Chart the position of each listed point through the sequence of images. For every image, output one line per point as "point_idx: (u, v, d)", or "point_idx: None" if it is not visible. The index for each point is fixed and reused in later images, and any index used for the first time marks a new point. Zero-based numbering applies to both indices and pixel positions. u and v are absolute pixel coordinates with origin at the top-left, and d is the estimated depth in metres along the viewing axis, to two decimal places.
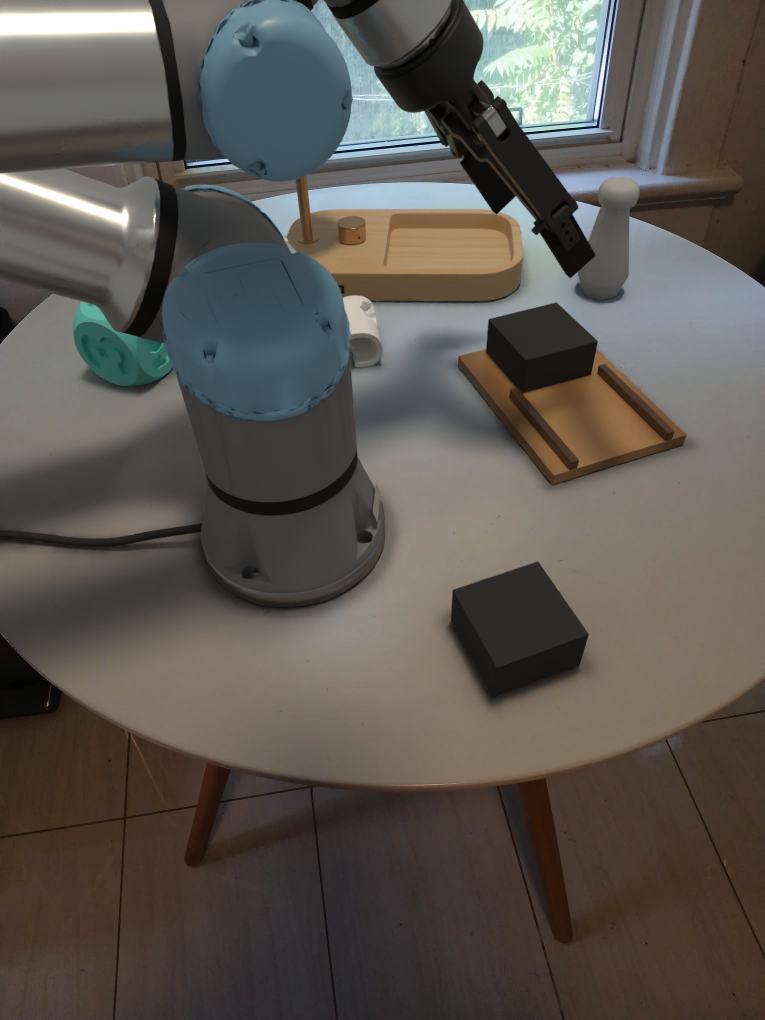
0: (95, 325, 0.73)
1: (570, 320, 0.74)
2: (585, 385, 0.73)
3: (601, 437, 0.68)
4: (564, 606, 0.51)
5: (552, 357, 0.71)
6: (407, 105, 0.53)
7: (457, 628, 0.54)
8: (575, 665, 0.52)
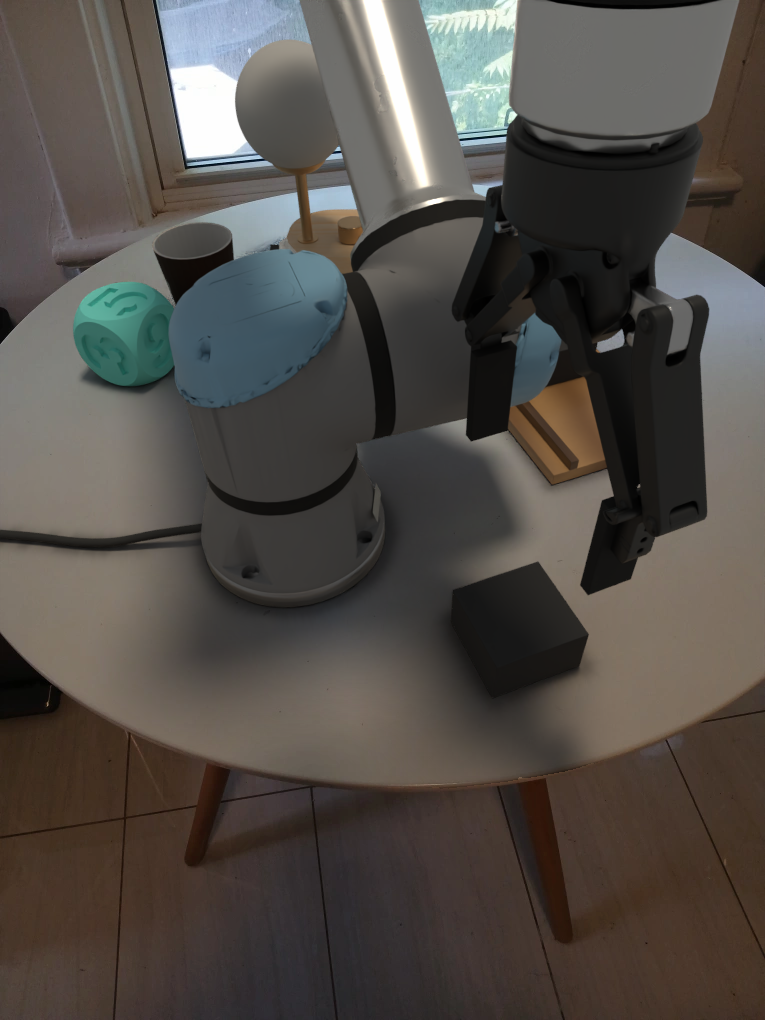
0: (95, 325, 0.73)
1: None
2: (585, 385, 0.73)
3: None
4: (564, 606, 0.51)
5: None
6: (540, 222, 0.29)
7: (457, 628, 0.54)
8: (575, 665, 0.52)
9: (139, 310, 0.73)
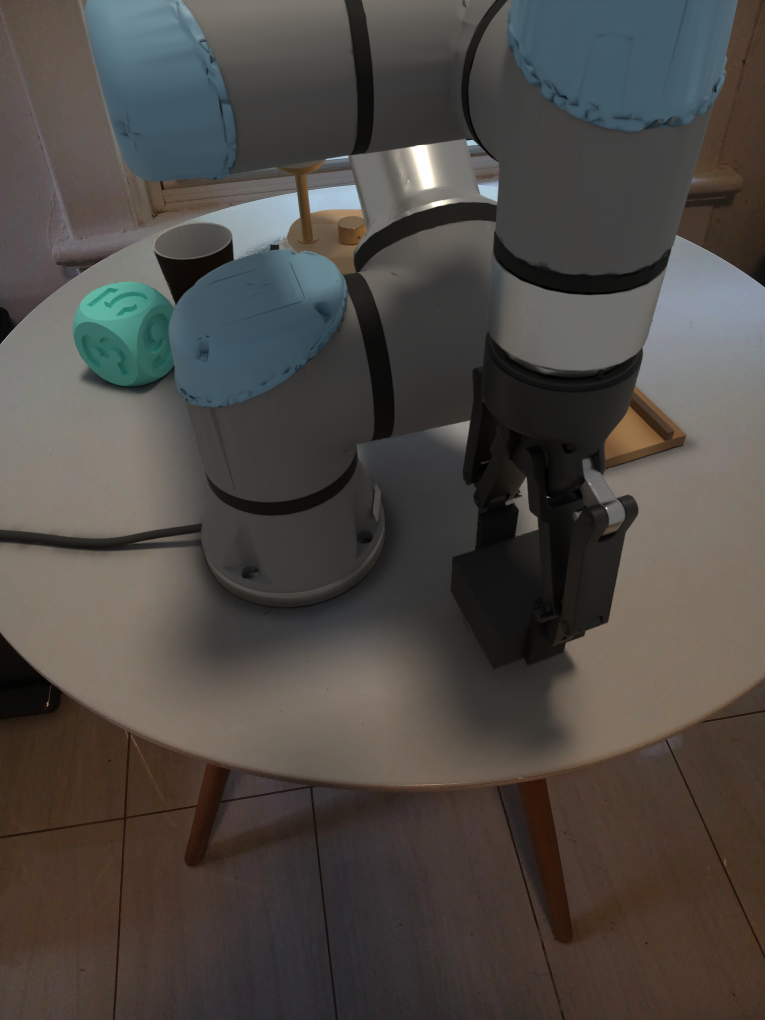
0: (95, 325, 0.73)
1: None
2: None
3: None
4: None
5: None
6: (510, 417, 0.35)
7: (457, 598, 0.52)
8: (579, 635, 0.50)
9: (139, 310, 0.73)
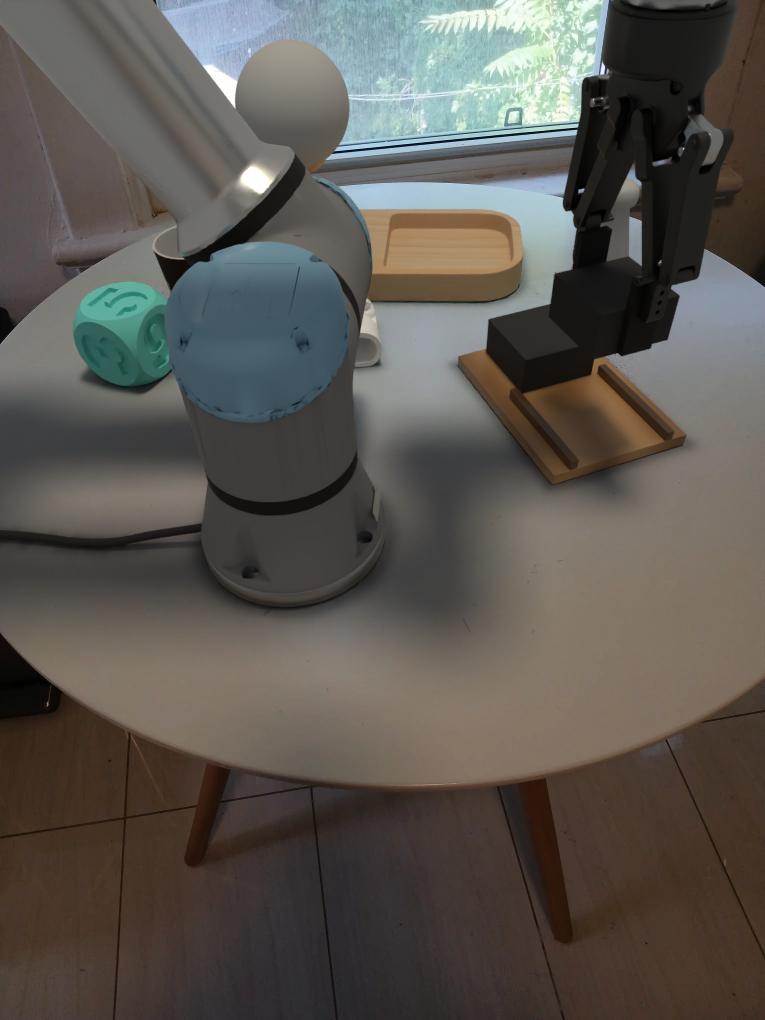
0: (95, 325, 0.73)
1: None
2: (585, 385, 0.73)
3: (601, 437, 0.68)
4: None
5: (552, 357, 0.71)
6: (630, 62, 0.44)
7: (556, 316, 0.61)
8: (664, 338, 0.59)
9: (139, 310, 0.73)
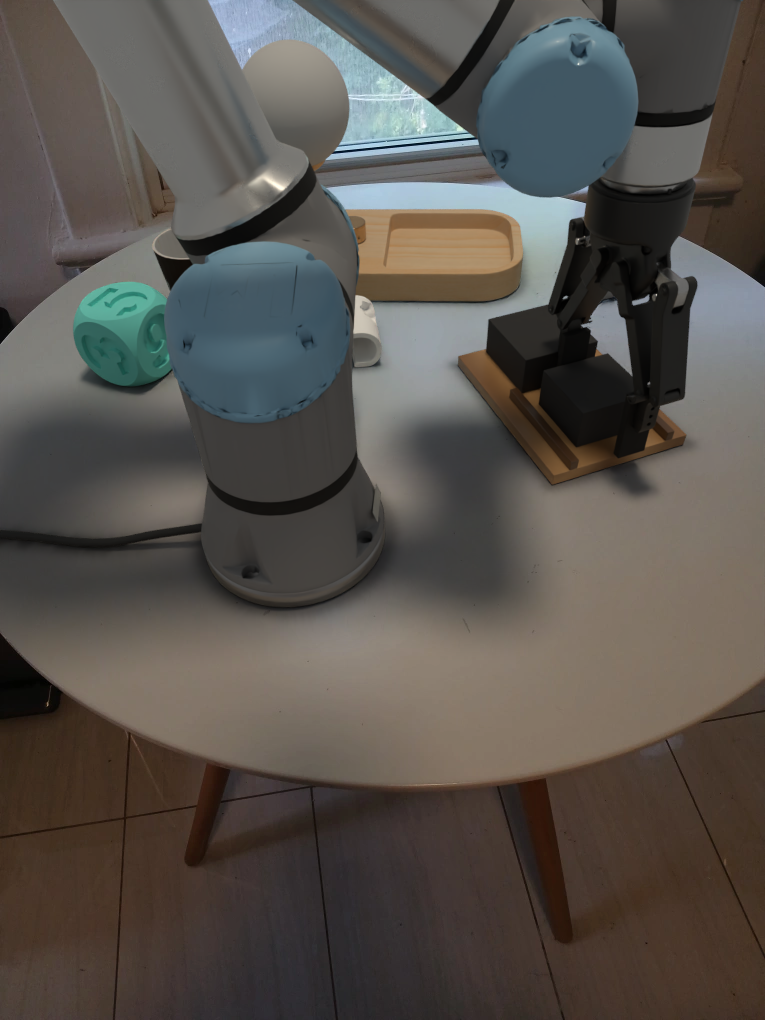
0: (95, 325, 0.73)
1: None
2: None
3: None
4: (630, 378, 0.67)
5: (552, 357, 0.71)
6: (608, 230, 0.53)
7: (545, 405, 0.70)
8: None
9: (139, 310, 0.73)
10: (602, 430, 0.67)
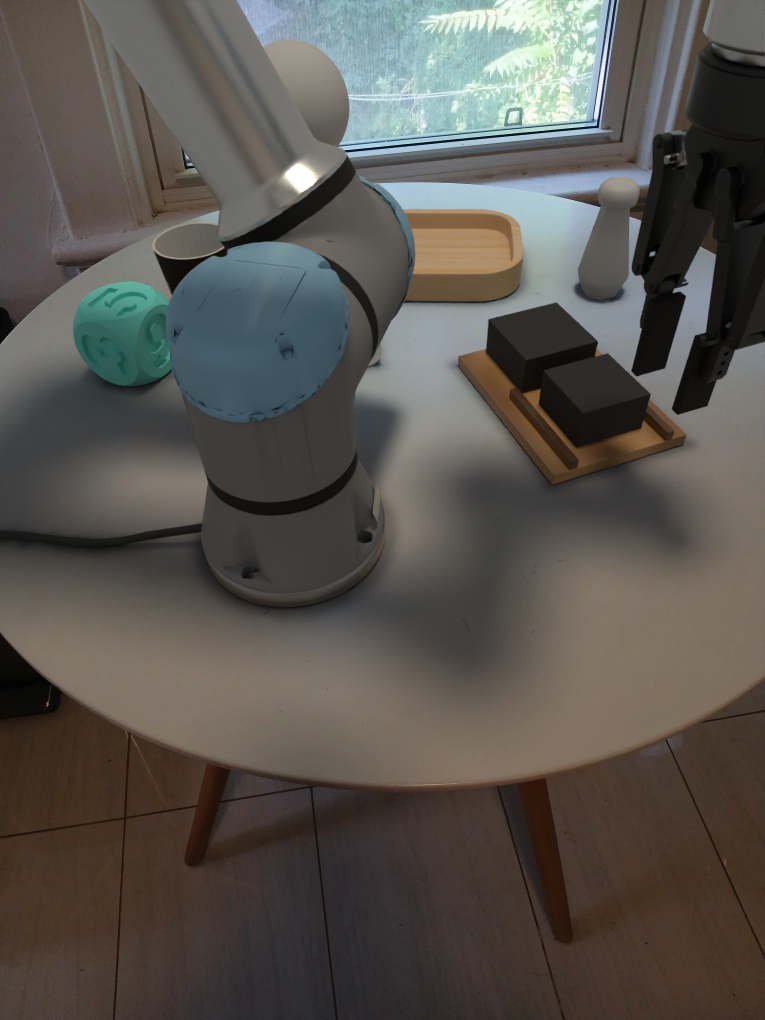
0: (95, 325, 0.73)
1: (570, 320, 0.74)
2: None
3: None
4: (630, 378, 0.67)
5: (552, 357, 0.71)
6: (723, 120, 0.41)
7: (545, 405, 0.70)
8: (638, 426, 0.68)
9: (139, 310, 0.73)
10: (602, 430, 0.67)
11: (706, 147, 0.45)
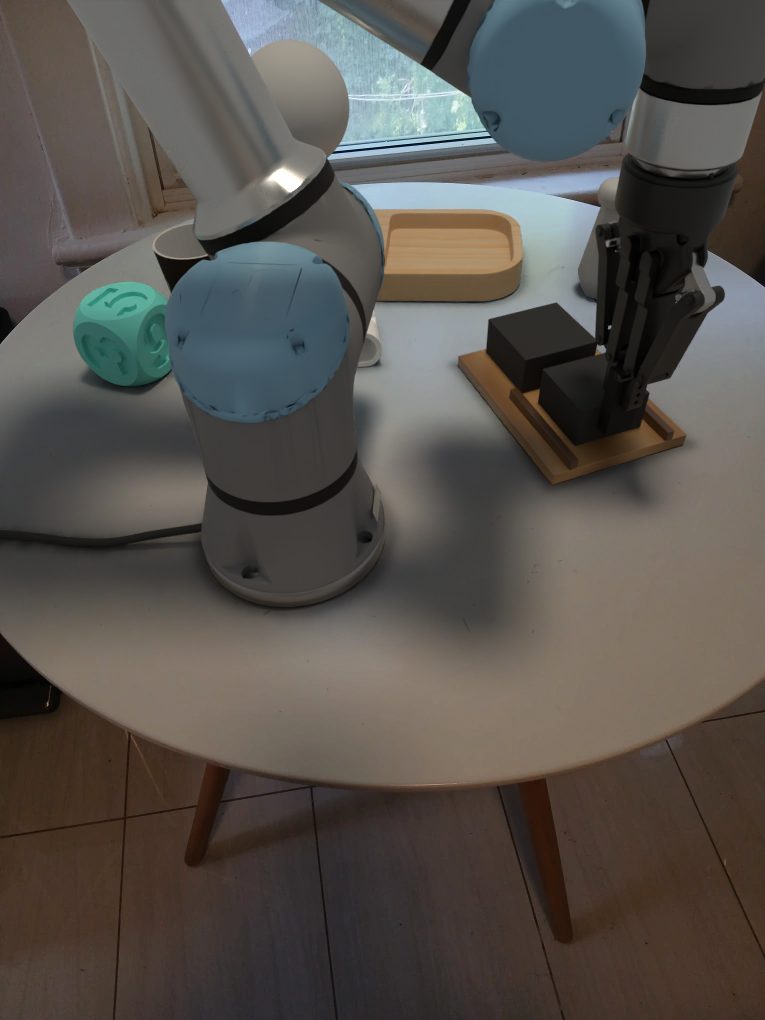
0: (95, 325, 0.73)
1: (570, 320, 0.74)
2: None
3: None
4: None
5: (552, 357, 0.71)
6: (641, 217, 0.49)
7: (544, 403, 0.70)
8: (637, 425, 0.68)
9: (139, 310, 0.73)
10: None
11: (634, 231, 0.54)
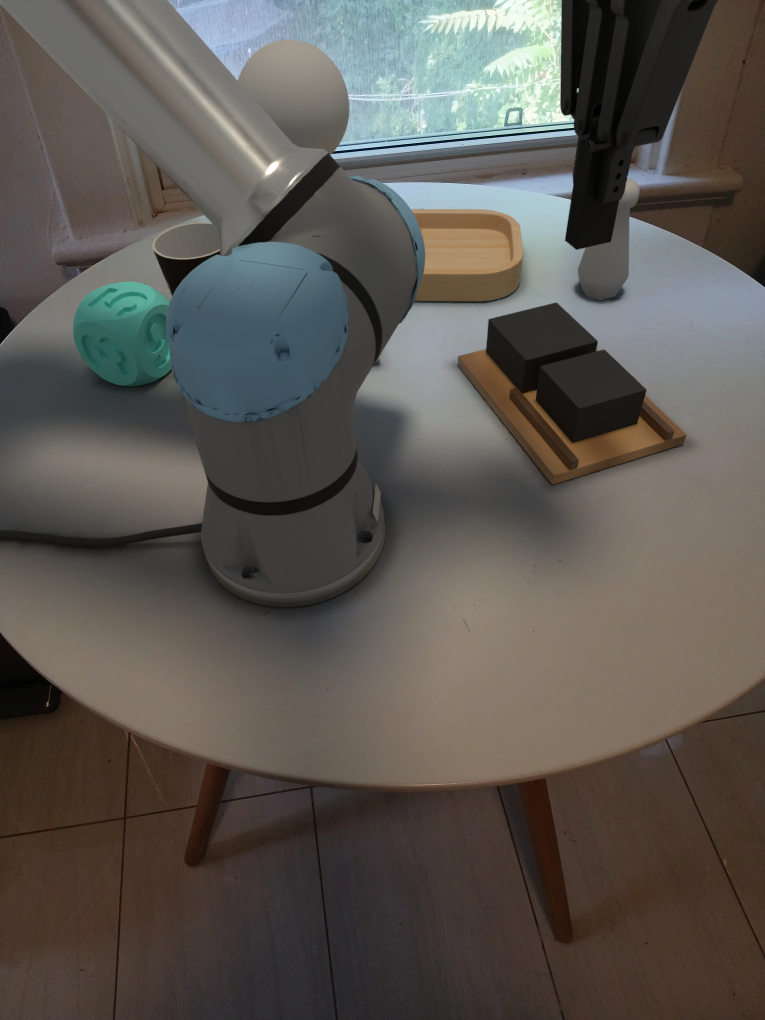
0: (95, 325, 0.73)
1: (570, 320, 0.74)
2: None
3: (601, 437, 0.68)
4: (626, 374, 0.68)
5: (552, 357, 0.71)
6: None
7: (542, 400, 0.71)
8: (634, 422, 0.69)
9: (139, 310, 0.73)
10: (598, 425, 0.67)
11: None
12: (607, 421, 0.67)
